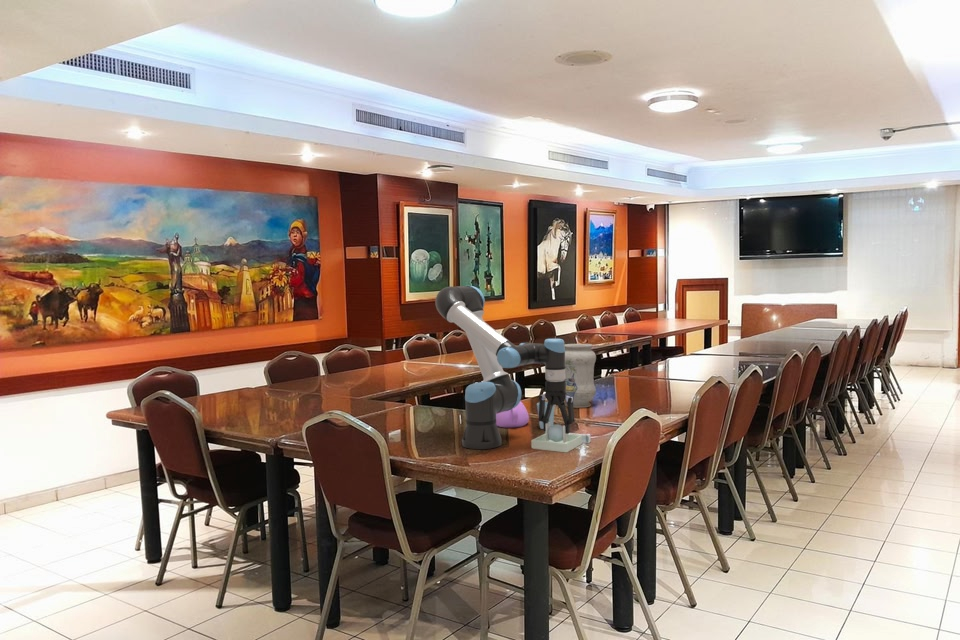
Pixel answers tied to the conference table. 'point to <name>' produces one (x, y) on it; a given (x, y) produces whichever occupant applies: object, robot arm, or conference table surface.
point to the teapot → (513, 417)
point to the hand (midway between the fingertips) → (556, 440)
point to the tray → (556, 443)
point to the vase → (580, 374)
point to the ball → (556, 433)
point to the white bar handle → (583, 437)
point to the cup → (551, 418)
